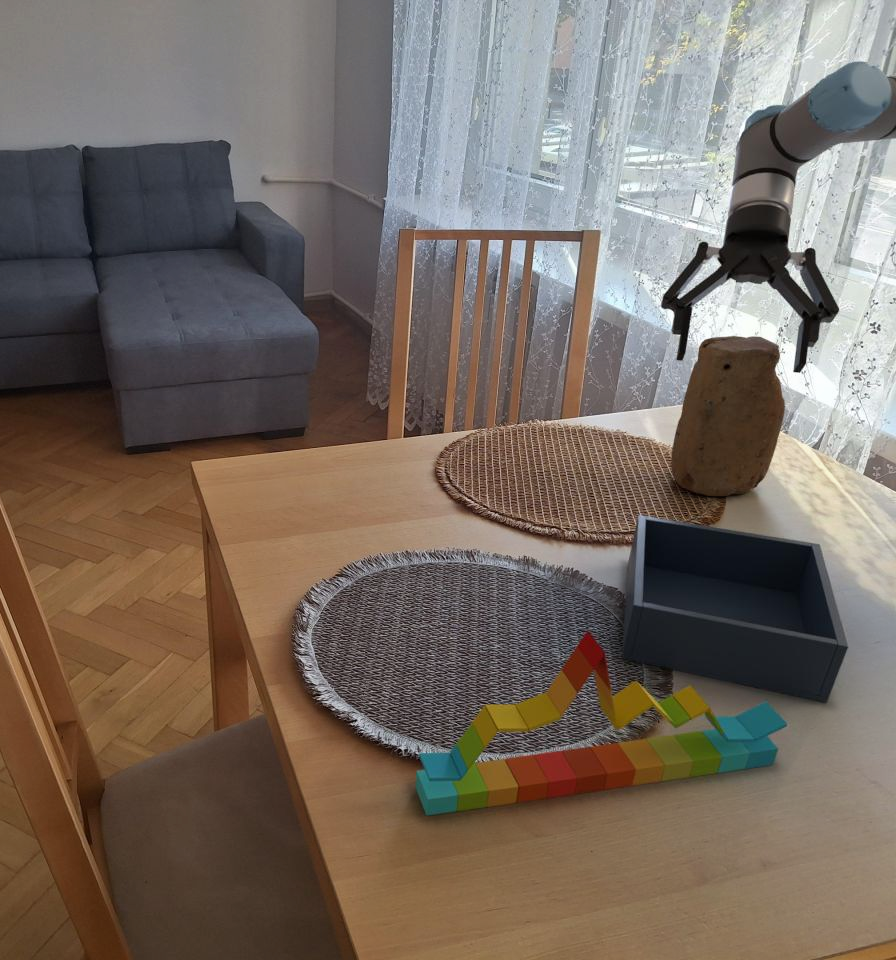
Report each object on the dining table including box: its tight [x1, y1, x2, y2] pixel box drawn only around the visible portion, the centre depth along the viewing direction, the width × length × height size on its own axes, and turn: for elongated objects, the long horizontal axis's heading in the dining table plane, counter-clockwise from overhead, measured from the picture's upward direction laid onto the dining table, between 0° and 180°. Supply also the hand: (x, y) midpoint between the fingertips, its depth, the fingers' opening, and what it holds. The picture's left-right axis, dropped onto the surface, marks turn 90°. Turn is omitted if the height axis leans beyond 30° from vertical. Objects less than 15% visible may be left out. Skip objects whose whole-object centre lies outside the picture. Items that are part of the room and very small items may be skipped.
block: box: [670, 335, 786, 497], centre depth 109 cm, size 11×8×20 cm
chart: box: [414, 630, 788, 817], centre depth 69 cm, size 30×3×15 cm, turn 98°
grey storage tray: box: [621, 514, 849, 703], centre depth 87 cm, size 18×18×7 cm
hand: (738, 362), depth 110 cm, fingers open, 13 cm apart
